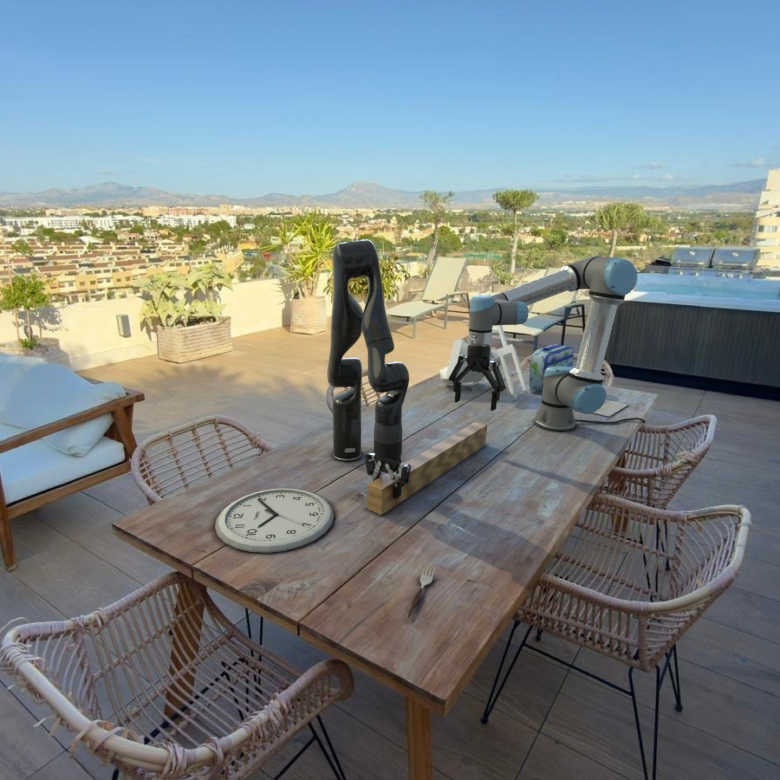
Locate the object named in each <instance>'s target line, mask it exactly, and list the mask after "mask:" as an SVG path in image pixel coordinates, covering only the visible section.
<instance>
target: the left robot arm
mask: <svg viewBox="0 0 780 780" xmlns="http://www.w3.org/2000/svg"><path fill="white" fill-rule="evenodd" d="M331 264H332V269H331V270H332V305H331V314H330V315H331V316H330V317H331V318H330V344H329V345H330V346H329V354H328V360H327V361H328V362H327V370H326V378H327V383H328V384H329V386H330V387H332V388H340V389H341V388H348V389H347V390H346V391H344V392H342V393H340V394H338V395H335V397H334V398H333V399H332V451H333V452H332V457H333V458H334V459H335V460H337V461H340V462H341V461H342V462H353V461H356V460H359V459H360V458H361V457H362V385H363V365H362V361H361V359H360V358H359V357H345V354H346V353H347V352H349V350H350V349H351V348H353V347H354V345H355V344H356V343H357V342H358V341H359V339H360V338H361V336H362V335H363V339H364V342H365V346H366V350H367V380H368V383H369V386H370V387H371V389H372V390H373V391H374V392H376V393H377V394H384V393H385V394H384V395H383V396H382V397H380V398H379V399H377V400H376V402H375V405H374V424H373V425H374V426H373V451H370V452H369V453H367V454H365V455H364V457H365V458H364V459H365V467H366V474H367V475H368V476H371V478H372V482H373V481H375V480H376V479H378V478H380V477H382V474H383V473H385V474H389V476H390V479H392V480H393V483H394V487H393V498H395V499H397V498H398V497H400V496H401V491H402V487H403V486H405V485H406V484H408V482H409V476H410V470H411V465H410V464H408V465H406V464H404V462H403V461H402V458H401V457H402V453H403V405H404V402H405V399H406V395H407V393H408V392H407V391H408V388H409V384H410V373H409V370H408V368H407V366H406V365H405V364H404V363H403V362H401V361H392V362H387V363H386V355H389V354H390V353H392V352H393V351H394V350H395V342H394V339H393V335H392V331H391V327H390V324H389V320H388V315H387V310H386V304H385V296H384V295H385V293H384V287H383V280H382V273H381V267H380V259H379V255H378V252H377V248H376V246H375V244H374V243H373V242H372V241H371V240H369V239H360V240H353V241H345V242H340V243H337V244H335V245H334V247H333V249H332V256H331ZM364 277H365V278H366V281H367V286H368V293H367V298H366V301H365V306H364V309H363V308H362V305H361V304H360V303H359V302H358V300H357V299H356V298H355V297H354V296H353V294H352V293H351V291H350V289H349V282H350V280H355V279H359V278H364ZM399 467H400V468H401V470H400V468H399ZM395 472H396V474H394V473H395ZM397 480H398V481H397Z"/></svg>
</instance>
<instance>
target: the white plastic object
mask: <svg viewBox="0 0 780 780" xmlns="http://www.w3.org/2000/svg"><path fill="white" fill-rule="evenodd" d="M496 328H497V332H498V335H499V338H500V342H501V345H502V347H500V348H498V349H496V350H495V349H493V348H492V347H491V351H490V361H498V362H499V367H500V366H502V370H503V373H504V376H505V380H506V383H507V386H508V390H509V393H510V394H511V395H512V397H513V398H514V399H515V400H517V392H516V391H517V390H516V388H515V385H514V381H513V378H512V375H511V371H510V369H509V365H508V361H510V360H513V363H514V366H515V369H516V372H517V376H518V380H519V382H520V385H521V389H522V391H523V393H524V395H525V396H526V397H528V396H531V395H530V389H529V388H528V387H529V386H528V384H527V381H526V378H525V375H524V371H523V369H522V368H523V367H522V366H521V362H520V359H519V355H518V352H517V349H516V347H515V346H514V345H513V343H511V344H508V341H507V337H506V334H505V331H504V328H503V325H496ZM467 347H468V343H466V342H465V340H464V339H463V338H460V339H458V338H454V340H453V344H452V349H451V353H450V357H449V362H448V366H446V367H444V368H442V369H440V370H439V371H438V372H439V376H440V381H442V383H443V384H444V385H445V386H449V385H453V384H454V383H453V382H452V381H450V380H449V376H450V375H451V373H452V371H453V369H454V367H455V366H456V364H457V362H458V357H459V356H461V355H465V357H467ZM467 366H468V364H467V362H466V361H465V362H464V363H463V365H462V367H461V368H460V370H459V372H458V374H457V376H458V375H459V374H460V373H461V372H462V371H463V370H464V369H465V368H466V367H467ZM488 367H489V369H490V370H491V373H493V370H492V368H491V365H489V366H488ZM457 376H456V377H457ZM456 377H455V378H456ZM484 378H486V377H485V375H483V373H482V372H481V373H479V372H476V371H475V372H473V371H472V370H470V371H469V372H468V373H467V374H466V375H465V376H464V377H463V378H462V379H461V380H460V381H459V382H461V384H467V383H468V384H469V383H473V384H477V383H480V382H482V381H484Z"/></svg>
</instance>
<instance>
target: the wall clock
mask: <svg viewBox="0 0 780 780" xmlns="http://www.w3.org/2000/svg"><path fill="white" fill-rule="evenodd" d="M334 518H335V514H334V509H333V507H332V506H331V504H330V503H329V502H328V501H327V499H325V498H323V497H321V496H320V495H318V494H316V493H313V492H311V491H307V490H304V489H296V488H270V489H265V490H260V491H256V492H252V493H250V494H246V495H244V496H242V497H240V498H238V499H236V500H234V501H232V502H231V503H229V504H228V505H227V506H226V507H224V508H223V509H222V510H221V511H220V513H219V515H218V516H217V518H216V520H215V525H214V529H215V532H216V535H217V538H218V539H220V540H221V541H222V542H223V543H224V544H226V545H228V546H230V547H232V548H234V549H236V550H240V551H245V552H248V553H249V552H250V553H261V554H262V553H265V554H270V553H277V552H287V551H290V550H293V549H298V548H301V547H304V546H306V545H308V544H311V543H312V542H314V541H316V540H317V539H319V538H321V537H322V536H323V535H325V534H326V532H327V531H328V530H329V529H330V528H331V526H332V525H333V522H334Z"/></svg>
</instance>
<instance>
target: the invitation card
mask: <svg viewBox="0 0 780 780" xmlns="http://www.w3.org/2000/svg"><path fill="white" fill-rule="evenodd" d="M628 406H629V404H627V403H623V402H618V401H614V400H609V399H606V400H605V402H604V404H603V405H602V407H601V408H600V409H598V410H596V411H595V412H594V413H593V414H596V415H600V416H604V417H608V418H609V417H611V416H613V415H614V414H616V413H617V412H619V411H621V410H623V409H624V408H626V407H628Z"/></svg>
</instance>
